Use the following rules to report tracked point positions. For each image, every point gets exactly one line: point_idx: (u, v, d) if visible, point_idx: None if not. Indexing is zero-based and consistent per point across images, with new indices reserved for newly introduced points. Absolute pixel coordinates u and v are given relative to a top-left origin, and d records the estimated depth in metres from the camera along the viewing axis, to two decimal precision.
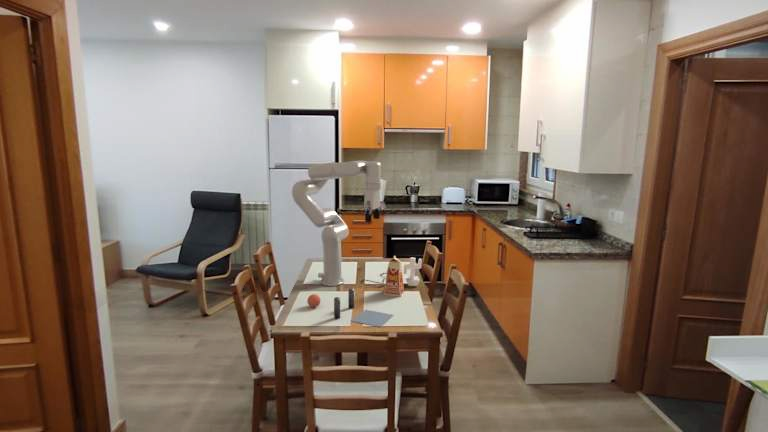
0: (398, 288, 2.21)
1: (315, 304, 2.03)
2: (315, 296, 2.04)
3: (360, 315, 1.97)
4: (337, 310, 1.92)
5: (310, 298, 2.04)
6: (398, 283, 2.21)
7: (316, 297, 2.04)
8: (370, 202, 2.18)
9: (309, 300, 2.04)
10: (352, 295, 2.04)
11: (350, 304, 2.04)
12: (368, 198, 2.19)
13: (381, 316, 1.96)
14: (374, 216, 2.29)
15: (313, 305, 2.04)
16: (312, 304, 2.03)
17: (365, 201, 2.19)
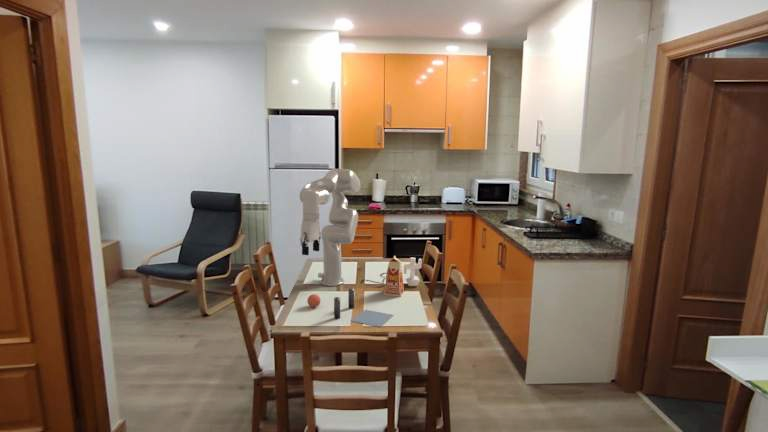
0: (398, 288, 2.21)
1: (315, 304, 2.03)
2: (315, 296, 2.04)
3: (360, 315, 1.97)
4: (337, 310, 1.92)
5: (310, 298, 2.04)
6: (398, 283, 2.21)
7: (316, 297, 2.04)
8: (307, 234, 2.03)
9: (309, 300, 2.04)
10: (352, 295, 2.04)
11: (350, 304, 2.04)
12: (305, 229, 2.03)
13: (381, 316, 1.96)
14: (314, 248, 2.13)
15: (313, 305, 2.04)
16: (312, 304, 2.03)
17: (302, 232, 2.04)
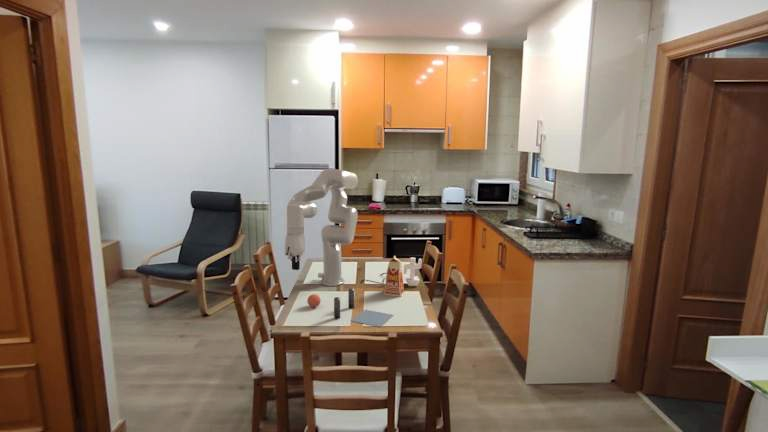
0: (398, 288, 2.21)
1: (315, 304, 2.03)
2: (315, 296, 2.04)
3: (360, 315, 1.97)
4: (337, 310, 1.92)
5: (310, 298, 2.04)
6: (398, 283, 2.21)
7: (316, 297, 2.04)
8: (291, 248, 2.00)
9: (309, 300, 2.04)
10: (352, 295, 2.04)
11: (350, 304, 2.04)
12: (289, 244, 2.00)
13: (381, 316, 1.96)
14: None
15: (313, 305, 2.04)
16: (312, 304, 2.03)
17: (286, 247, 2.01)
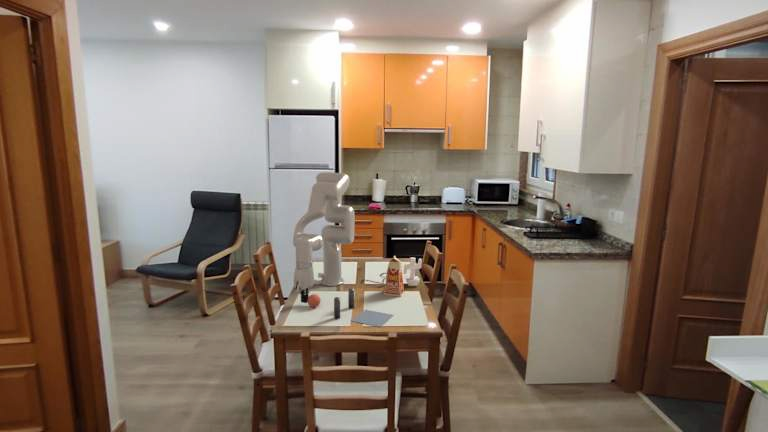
0: (398, 288, 2.21)
1: (315, 304, 2.03)
2: (315, 296, 2.04)
3: (360, 315, 1.97)
4: (337, 310, 1.92)
5: (310, 298, 2.04)
6: (398, 283, 2.21)
7: (316, 297, 2.04)
8: (299, 282, 2.01)
9: (309, 300, 2.04)
10: (352, 295, 2.04)
11: (350, 304, 2.04)
12: (297, 278, 2.01)
13: (381, 316, 1.96)
14: None
15: (313, 305, 2.04)
16: (312, 304, 2.03)
17: (294, 281, 2.02)
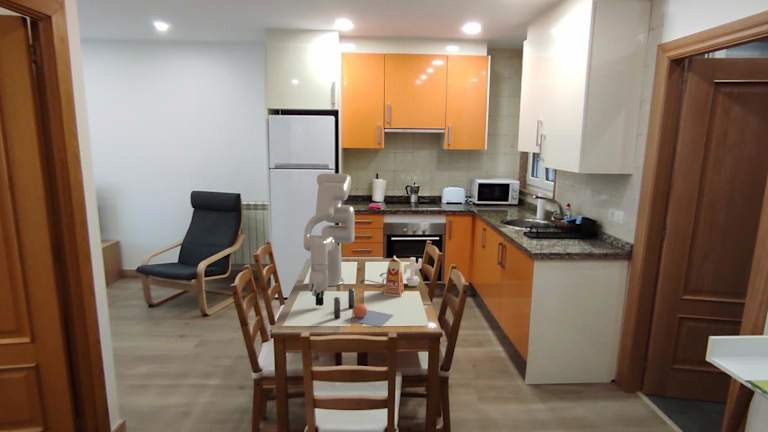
0: (398, 288, 2.21)
1: None
2: (363, 316, 1.93)
3: None
4: (337, 310, 1.92)
5: (360, 313, 1.92)
6: (398, 283, 2.21)
7: None
8: (315, 285, 1.98)
9: (358, 313, 1.92)
10: (352, 295, 2.04)
11: (350, 304, 2.04)
12: (313, 280, 1.98)
13: (381, 316, 1.96)
14: None
15: (354, 314, 1.93)
16: (354, 314, 1.93)
17: (310, 283, 1.99)
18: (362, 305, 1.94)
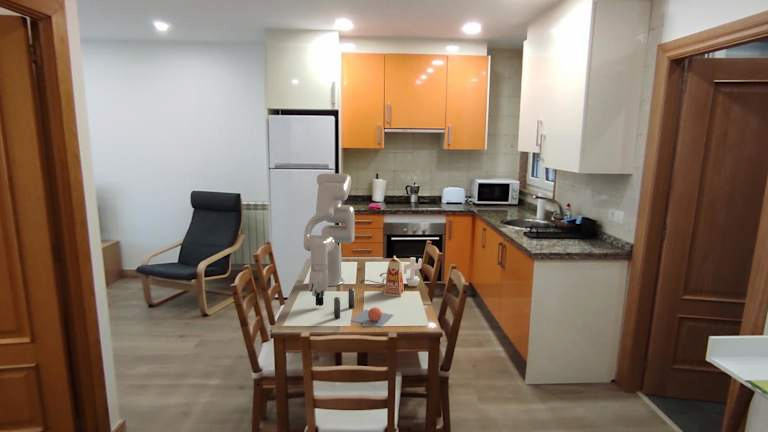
0: (398, 288, 2.21)
1: (372, 310, 1.89)
2: None
3: (360, 315, 1.97)
4: (337, 310, 1.92)
5: (369, 318, 1.90)
6: (398, 283, 2.21)
7: None
8: (315, 285, 1.98)
9: (370, 318, 1.89)
10: (352, 295, 2.04)
11: (350, 304, 2.04)
12: (313, 280, 1.98)
13: None
14: None
15: (373, 312, 1.89)
16: (372, 313, 1.88)
17: (310, 283, 1.99)
18: None
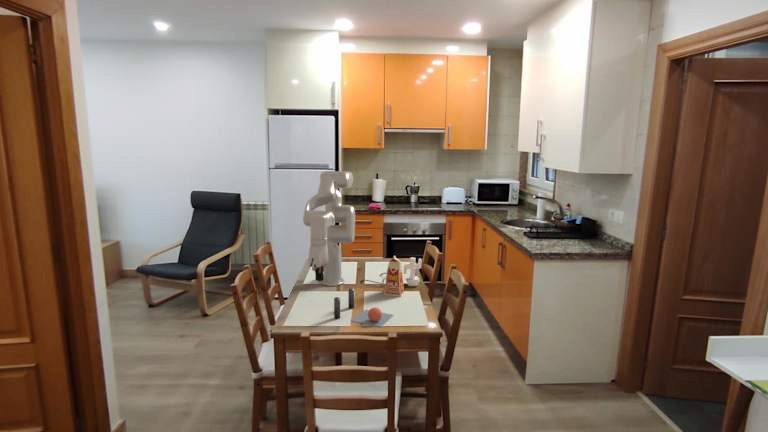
0: (398, 288, 2.21)
1: (372, 310, 1.89)
2: None
3: (360, 315, 1.97)
4: (337, 310, 1.92)
5: (369, 318, 1.90)
6: (398, 283, 2.21)
7: None
8: (315, 260, 1.96)
9: (370, 318, 1.89)
10: (352, 295, 2.04)
11: (350, 304, 2.04)
12: (313, 255, 1.96)
13: None
14: None
15: (373, 312, 1.89)
16: (372, 313, 1.88)
17: (309, 258, 1.97)
18: None
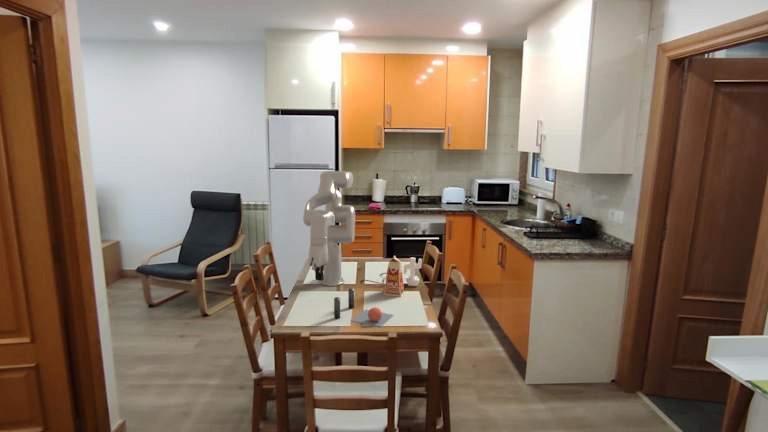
0: (398, 288, 2.21)
1: (372, 310, 1.89)
2: None
3: (360, 315, 1.97)
4: (337, 310, 1.92)
5: (369, 318, 1.90)
6: (398, 283, 2.21)
7: None
8: (315, 259, 1.96)
9: (370, 318, 1.89)
10: (352, 295, 2.04)
11: (350, 304, 2.04)
12: (313, 254, 1.96)
13: None
14: None
15: (373, 312, 1.89)
16: (372, 313, 1.88)
17: (309, 257, 1.97)
18: None
